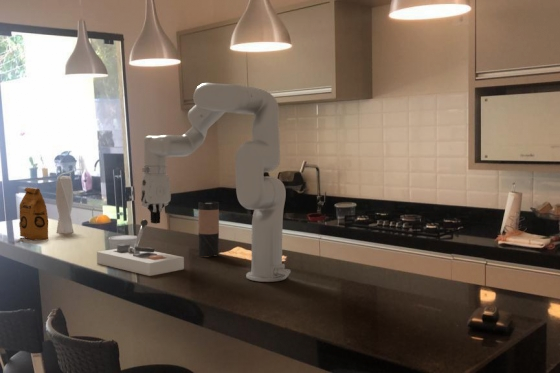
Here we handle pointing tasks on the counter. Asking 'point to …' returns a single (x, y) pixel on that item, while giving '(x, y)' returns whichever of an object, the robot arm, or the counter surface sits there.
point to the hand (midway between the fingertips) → (155, 222)
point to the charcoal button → (123, 248)
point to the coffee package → (33, 215)
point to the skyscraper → (64, 203)
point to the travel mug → (208, 228)
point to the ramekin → (121, 241)
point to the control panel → (140, 261)
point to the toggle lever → (139, 234)
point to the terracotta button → (156, 257)
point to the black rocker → (144, 249)
